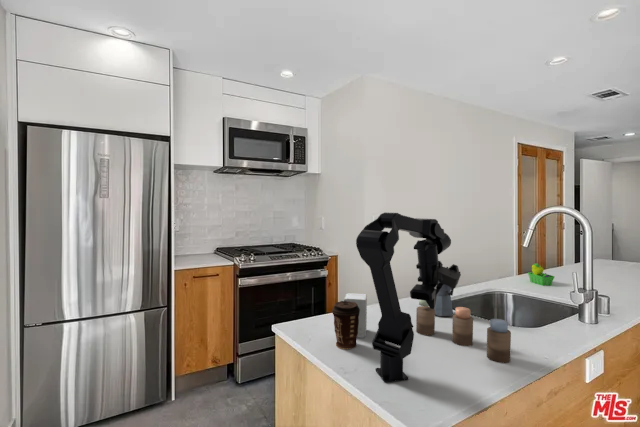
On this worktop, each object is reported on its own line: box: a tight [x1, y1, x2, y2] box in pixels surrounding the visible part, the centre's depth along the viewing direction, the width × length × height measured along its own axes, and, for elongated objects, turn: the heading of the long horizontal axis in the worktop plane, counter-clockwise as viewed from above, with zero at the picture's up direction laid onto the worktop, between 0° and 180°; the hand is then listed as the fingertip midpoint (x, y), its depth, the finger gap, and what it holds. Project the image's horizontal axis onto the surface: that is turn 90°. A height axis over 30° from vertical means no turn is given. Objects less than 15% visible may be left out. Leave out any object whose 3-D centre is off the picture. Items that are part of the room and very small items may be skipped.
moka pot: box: [434, 263, 455, 317], centre depth 135 cm, size 10×15×20 cm, turn 21°
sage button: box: [418, 300, 429, 307], centre depth 116 cm, size 4×4×2 cm
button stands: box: [415, 305, 512, 364], centre depth 107 cm, size 30×8×8 cm, turn 38°
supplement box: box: [343, 292, 368, 338], centre depth 115 cm, size 7×7×13 cm
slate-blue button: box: [489, 318, 509, 333], centre depth 97 cm, size 4×4×2 cm
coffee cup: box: [331, 300, 360, 351], centre depth 105 cm, size 9×8×13 cm
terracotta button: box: [454, 306, 471, 319], centre depth 108 cm, size 4×4×2 cm
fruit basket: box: [527, 262, 555, 286], centre depth 186 cm, size 11×9×11 cm
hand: (432, 308), depth 103 cm, fingers closed
